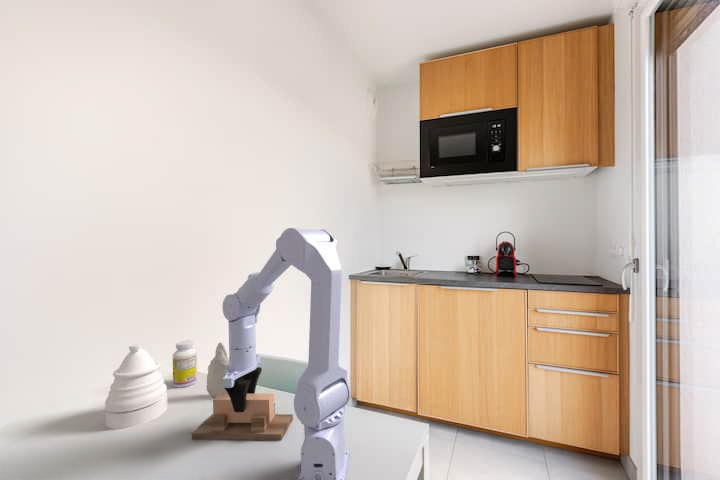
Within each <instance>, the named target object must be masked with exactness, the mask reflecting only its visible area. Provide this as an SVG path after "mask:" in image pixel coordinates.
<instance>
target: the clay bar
mask: <svg viewBox="0 0 720 480" xmlns="http://www.w3.org/2000/svg"><path fill="white" fill-rule="evenodd" d="M274 403H275V393H255V394H247V396H246V406H245V411H244V412H234V409H233V406H232V402H231V399H230V397H229V395H228V394H219V395H218V396H217V397H214V398H213V399H212V407H213V408H212V414H213V415H226V418H227V422H234V423H251V417H252V415H266V423H270V422H271V420H272V419H273V417H274V416H275V414H276V412H275V413H274Z"/></svg>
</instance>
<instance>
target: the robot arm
mask: <svg viewBox="0 0 720 480" xmlns="http://www.w3.org/2000/svg"><path fill="white" fill-rule="evenodd" d="M291 266H292V267H294V268H295V269H297V270H298V271H300V272H301V273H303V274H305V275H306V276H307V277H308V279H309V280H310V282H311V283H310V304H309V305H310V306H309V307H310V308H309V310H310V311H309V337H308V338H309V339H308V363H307V367H306V368H305V370H304V371H303V373H302V374H301V376H300V378H299V379H298V382H297V383H298V384H297V391H296V393H295V395H294V398H293V410H294V414H295V416H296V418H297V419H298V420H299V421H300V423H301V424H302V425H303V427H304V428H303V429H304V430H303V431H304V434H303V435H304V438H303V443H302V445H301V449H300V469H301V470H300V473H299V475H298V478H297V480H345V479H346V475H347V470H348V462H349V458H350V451H349V450H347V449H346V450H345V427H344V426H345V425H344V424H345V423H344V421H345V420H344V414H345V412H346V405H347V404H348V403H349V402H350V399H351V394H352V392H351V391H352V390H351V386H350V383H349V381H348V370H347V369H346V368H345V367H344V366H343V365H341V364H339V360H340V359H339V355H340V354H339V353H340V330H341V303H342V302H341V300H342V277H343V273H342V266H341V262H340V260H339V256H338V239H336V238H335V237H334V236H333V234H331V232H329V231H328V230H326V229H305V228H304V229H302V228H294V227H289V228H286V229H284V230H283V232H282V233H281V235H280V236H279V237H278V238H277V239H276V240H275V250H274V251H273V253H272V254H271V255H270V258H269V259H268V260H267V262H266V263H265V265H264V266H263V267H262V268H261V270H260V272H258V271H257V272H253V273H250V274H249V275H248V276H247V279H246V281H245V282H244V283H243V284H242V285H241V286H240V287H239V288H238V289H237V291H236V292H235V293H230V294H226V296H225V298H224V299H223V301H222V306H221V307H222V313H223V316H224V318H225V319H226V320H227V322H228V356H229V357H228V361H229V364H228V365H227V366H225V370H227V373H226V375H225V377H224V378H223V379H222V382H223V388H225V390H226V391H227V393H228V395H229V397H230V399H231V402H232V406H233V409H234V412H244V411H245V406H246V396H247V394H256V389H257V383H258V381H259V378H260V376H261V373H262V370H263V369H262V367H260V366H259V367H258V364H260V363H261V355H260V354H257V349H256V345H257V344H256V343H257V342H256V324H257V323H258V316H259V313H260V311H261V304H262V303H263V302H264V300H265V299H266V298H267V297H268V296H269V295H270V294H271V293H272V292H273V290H274V282H275V281H277V279H278V278H280V277H281V276H282V274H283V273H285V271H287V270H288V269H289V268H290V267H291Z"/></svg>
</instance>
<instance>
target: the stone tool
mask: <svg viewBox="0 0 720 480" xmlns="http://www.w3.org/2000/svg"><path fill="white" fill-rule="evenodd" d="M214 354H215V356H214V357H213V358H211V360H210V363H209V365H208V368H207V374H206V391H207V393H208V395H210V396H211V397H212V398H213V397H214V398H215V397H217V396H218V395H219V394H228V393H227V391H226V390H225V388H223V382H222V379H223V378H224V377H225V375H226V373H227V370H225V366H227V365H228V364H229V357H228V353H227V350H226V348H225V346H224V344H223V342H219V343H218V344H217V346H216V349H215V353H214Z"/></svg>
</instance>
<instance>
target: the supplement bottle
mask: <svg viewBox="0 0 720 480" xmlns="http://www.w3.org/2000/svg"><path fill="white" fill-rule="evenodd" d="M175 343H176V342H175ZM175 349H176V350H175V351H174V353H173V354H172V382H173V383H172V384H173V387H175V388H186V387H190V386H192V385H195V384H196V382H198V351H197V349H195V348H194V340H191V339H190V340H182V341H178V342H177V343H176V344H175Z"/></svg>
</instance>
